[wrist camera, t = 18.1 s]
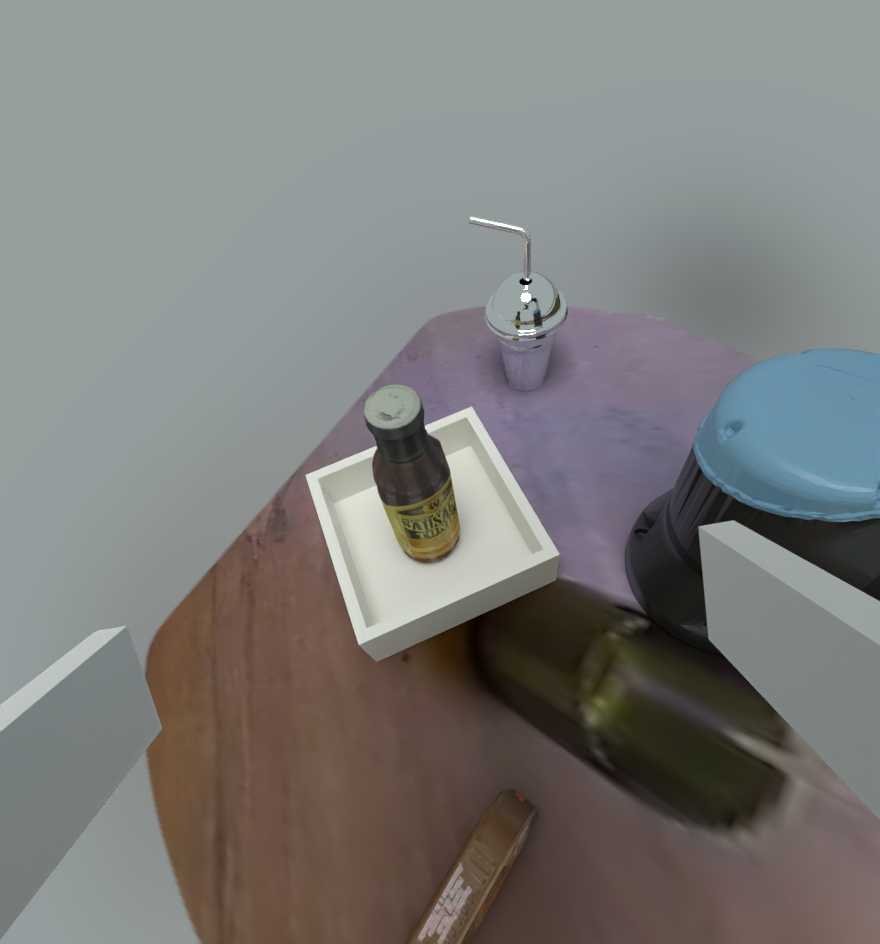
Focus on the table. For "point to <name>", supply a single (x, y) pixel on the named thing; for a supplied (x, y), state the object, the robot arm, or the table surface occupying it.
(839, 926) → the table surface
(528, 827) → the tin
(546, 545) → the box
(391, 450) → the sauce bottle
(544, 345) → the cup with straw
